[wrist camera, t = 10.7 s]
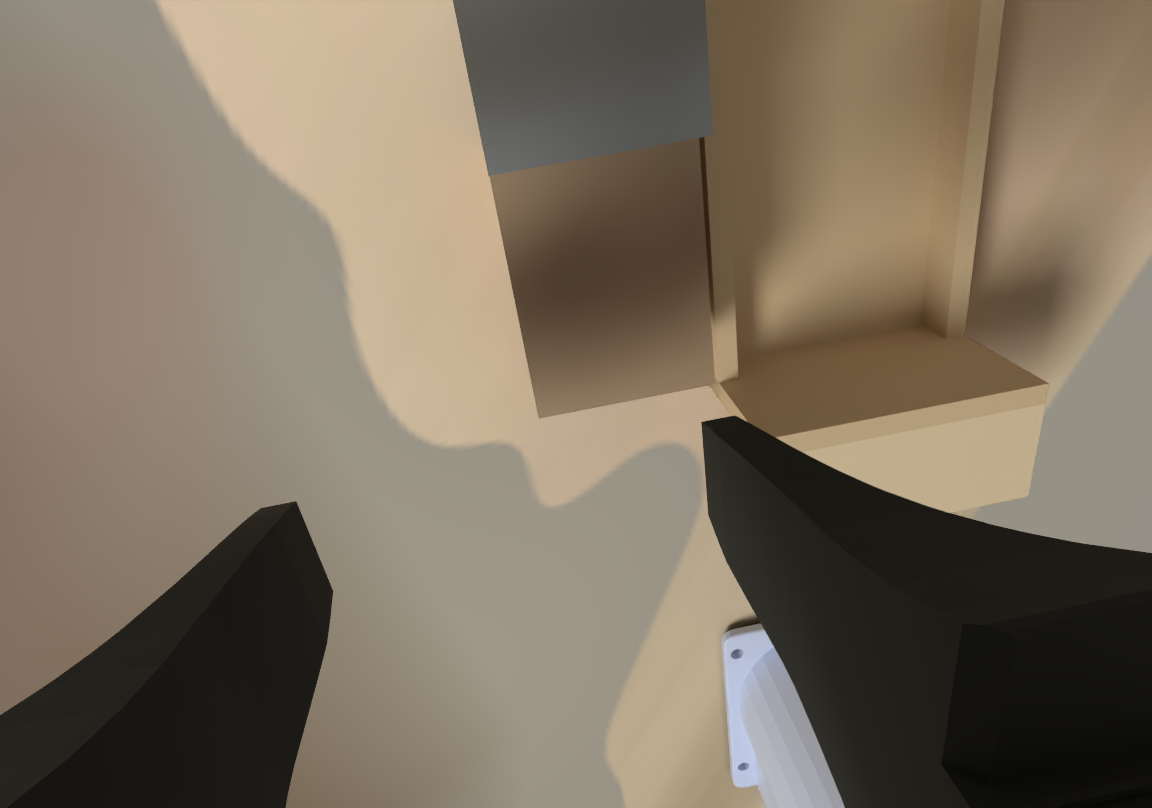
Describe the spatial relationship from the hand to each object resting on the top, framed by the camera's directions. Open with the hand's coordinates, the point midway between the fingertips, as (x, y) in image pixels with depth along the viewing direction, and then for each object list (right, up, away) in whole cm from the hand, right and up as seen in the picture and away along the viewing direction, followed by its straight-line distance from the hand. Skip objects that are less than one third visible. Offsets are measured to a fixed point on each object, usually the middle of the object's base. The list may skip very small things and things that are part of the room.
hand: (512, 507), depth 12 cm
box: (+1, +8, +7) cm, 11 cm away
